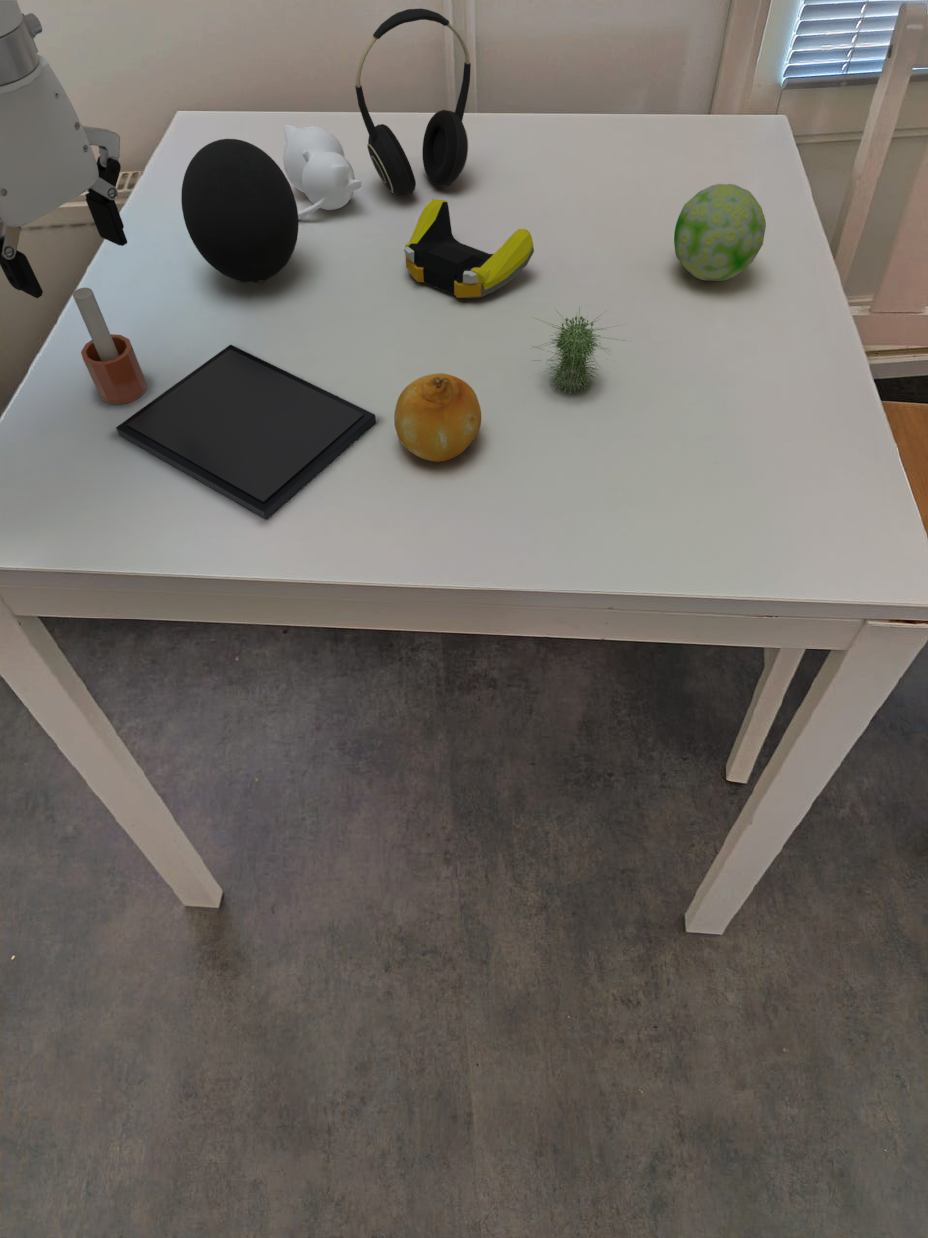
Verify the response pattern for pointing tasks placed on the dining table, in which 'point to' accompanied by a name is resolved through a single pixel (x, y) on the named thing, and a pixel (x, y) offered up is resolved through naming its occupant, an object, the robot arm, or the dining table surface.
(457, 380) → the fruit
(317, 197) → the cat figurine
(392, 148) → the headphones
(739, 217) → the decorative ball
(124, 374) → the pen cup
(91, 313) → the stylus
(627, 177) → the dining table surface
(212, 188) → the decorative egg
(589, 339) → the small spiny cactus
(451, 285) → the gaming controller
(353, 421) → the tablet
